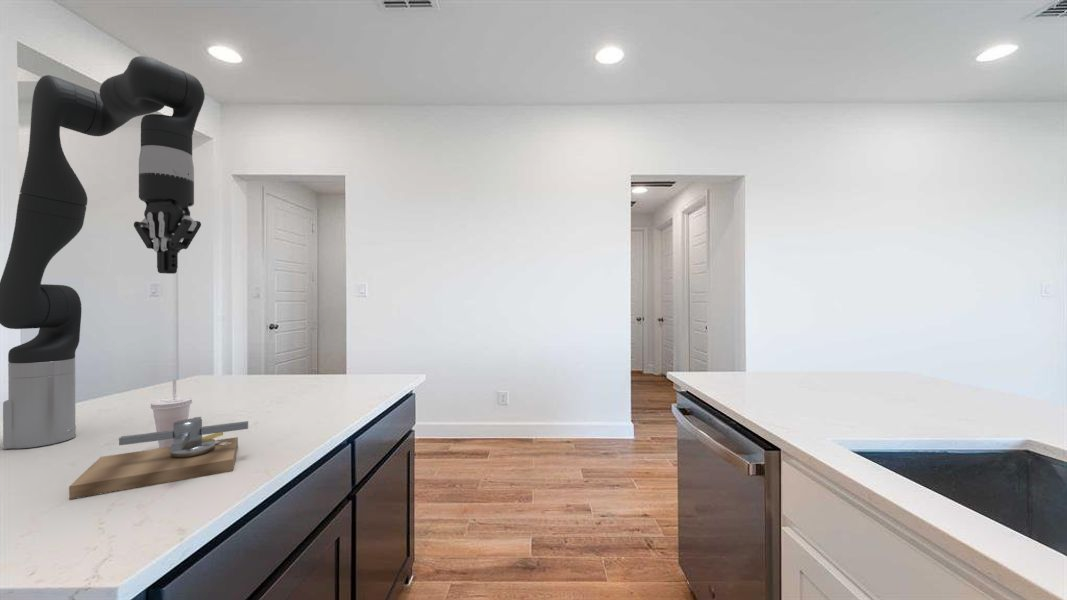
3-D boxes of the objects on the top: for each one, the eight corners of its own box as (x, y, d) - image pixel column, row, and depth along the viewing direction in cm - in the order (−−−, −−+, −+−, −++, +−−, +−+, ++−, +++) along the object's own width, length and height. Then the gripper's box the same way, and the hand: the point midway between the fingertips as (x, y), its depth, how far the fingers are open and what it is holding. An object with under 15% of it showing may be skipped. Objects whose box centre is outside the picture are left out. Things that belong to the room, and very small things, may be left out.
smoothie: (173, 454, 82) (173, 382, 82) (141, 454, 82) (140, 382, 82) (200, 443, 88) (200, 376, 88) (170, 442, 88) (170, 376, 88)
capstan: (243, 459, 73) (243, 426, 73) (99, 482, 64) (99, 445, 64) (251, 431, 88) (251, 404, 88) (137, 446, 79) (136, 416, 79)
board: (69, 499, 63) (69, 485, 63) (100, 468, 75) (100, 455, 75) (232, 470, 74) (232, 458, 74) (237, 446, 86) (237, 436, 86)
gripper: (216, 180, 78) (216, 274, 78) (161, 184, 81) (161, 274, 81) (174, 168, 71) (173, 271, 71) (114, 173, 74) (114, 272, 74)
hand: (167, 273), depth 76 cm, fingers closed
